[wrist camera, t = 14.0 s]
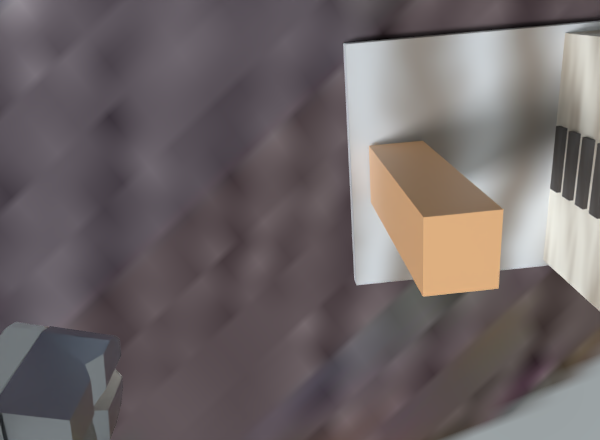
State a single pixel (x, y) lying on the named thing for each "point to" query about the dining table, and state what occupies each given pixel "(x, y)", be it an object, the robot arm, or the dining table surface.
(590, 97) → the block
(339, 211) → the dining table surface
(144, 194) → the dining table surface
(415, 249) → the tan rectangular block
